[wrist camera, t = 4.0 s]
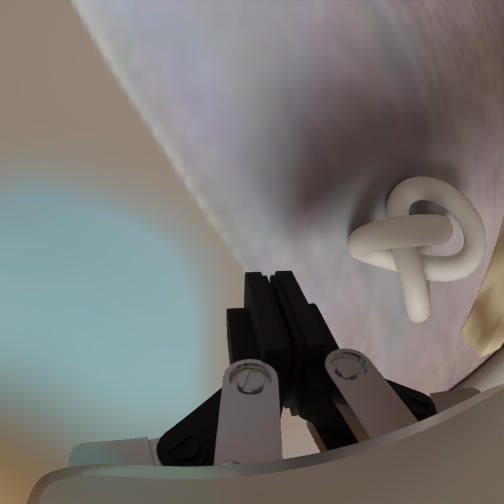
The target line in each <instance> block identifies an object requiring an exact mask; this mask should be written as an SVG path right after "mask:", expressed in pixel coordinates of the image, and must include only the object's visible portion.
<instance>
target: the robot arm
mask: <svg viewBox="0 0 504 504" xmlns="http://www.w3.org/2000/svg"><path fill="white" fill-rule="evenodd" d="M244 293H245V294H244V308H230V309H227V340H228V350H229V360H230V366H229V367H228V368H227V370H226V371H225V374H224V376H223V385H222V388H221V389H220V390H218V391H217V392H216V393H215V394H213V395H212V396H211V397H210V398H209V399H207V400H206V401H205V402H204V403H203V404H201V405H200V406H199V407H198V408H196V409H195V410H194V411H193V412H191V413H190V414H189V415H188V416H186V417H185V418H184V419H183V420H181V421H180V422H179V423H177V424H176V425H175V426H174V427H172V428H171V429H170V430H168V431H167V432H166V433H165V434H164V435H163V436H162V437H161V438H157V439H151V440H149V439H148V438H147V437H143V438H135V439H127V440H116V441H103V442H87V443H82V444H80V445H78V446H76V447H75V448H74V449H73V451H72V452H71V454H70V458H69V467H67V468H62V469H58V470H55V471H52V472H50V473H48V474H46V475H44V476H42V477H41V478H40V479H39V480H38V481H37V482H36V484H35V485H34V487H33V489H32V491H31V493H30V496H29V499H28V502H27V504H504V384H502V385H498V386H495V387H492V388H489V389H487V390H485V391H483V392H481V391H479V390H478V389H476V388H473V387H467V388H462V389H456V390H450V391H444V392H437V393H430V395H429V396H427V395H425V394H423V393H421V392H419V391H416V390H413V389H411V388H408V387H405V386H403V385H400V384H397V383H395V382H392V381H390V380H387V379H385V378H384V377H383V376H382V375H381V373H380V372H379V371H378V370H377V368H376V367H375V366H374V365H373V364H372V362H371V361H370V360H369V359H368V358H367V357H366V356H365V355H364V354H362V353H361V352H359V351H356V350H353V349H345V348H344V349H339V347H338V345H337V343H336V341H335V339H334V337H333V336H332V334H331V332H330V330H329V328H328V326H327V324H326V322H325V320H324V318H323V317H322V315H321V313H320V311H319V309H318V307H317V306H316V304H314V303H312V304H308V302H307V300H306V298H305V296H304V294H303V292H302V290H301V288H300V286H299V284H298V283H297V281H296V279H295V277H294V275H293V273H292V271H276V272H275V275H271V276H270V283H269V280H268V278H267V276H262V274H261V272H246V273H245V292H244ZM283 405H284V407H285V408H290V412H291V415H292V416H296V415H299V416H300V417H301V418H303V419H305V420H306V421H307V427H308V429H309V431H310V433H311V435H312V437H313V439H314V441H315V443H316V445H317V447H318V449H319V450H320V453H316V454H311V455H306V456H300V457H295V458H289V459H283V457H282V438H281V420H280V419H281V414H282V410H283Z"/></svg>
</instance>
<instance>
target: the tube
mask: <svg viewBox="0 0 504 504" xmlns="http://www.w3.org/2000/svg"><path fill="white" fill-rule="evenodd" d="M502 384H504V345H503V346H502V347H501V348H500V349H499V350H498V351H497V352H496V353H495V354H494V355H493V356H492V357H491V358H490V359H488V360H487V361H486V362H485V363H484V364H483V365H482V366H481V367H479V368H478V369H477V370H476V371H475V372H473V373H472V374H471V375H470V376H469V377H467V378H466V379H465V380H464V381H462V382H461V383H460V384H458V385H457V386H456V387H455V388H453V389H452V390H456V389H462V388H467V387H473V388H476V389H478V390H479V391H481V392H483V391H485V390H487V389H489V388H492V387H495V386H498V385H502Z"/></svg>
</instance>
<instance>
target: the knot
mask: <svg viewBox="0 0 504 504" xmlns="http://www.w3.org/2000/svg"><path fill="white" fill-rule="evenodd" d="M418 200H428V201H432V202H434V203H437V204H439V205H440V206H442V207H444V208H445V209H446V210H448V211H449V212H450V213H451V214H452V215H453V216H454V218H455V219H456V220H457V222H458V223H459V225H460V227H461V229H462V232H463V235H464V245H463V248H462V250H461V251H460V252H458V253H457V254H454V255H451V256H432V255H430V249H431V245H441V244H445V243H447V242H448V241H449V240H450V239H451V237H452V235H453V226H452V223H451V221H450V220H449V219H448V218H446V217H445V216H442V215H435V214H418V215H409V209H410V206H411V204H412V203H414V202H415V201H418ZM347 247H348V250H349V252H350V254H351V255H352V256H353V257H354V258H356V259H357V260H359V261H362V262H364V263H367V264H370V265H373V266H377V267H380V268H384V269H388V270H391V271H395V272H397V273H398V277H399V281H400V286H401V290H402V295H403V300H404V304H405V309H406V312H407V315H408V317H409V318H410V319H411V320H412V321H414V322H422V321H424V320H426V319H427V318H428V316H429V314H430V310H431V307H430V280H432V281H455V280H459V279H462V278H464V277H466V276H468V275H470V274H471V273H472V272H473V271H475V269H476V268H477V267H478V266H479V264H480V263H481V261H482V259H483V256H484V253H485V248H486V234H485V229H484V225H483V222H482V220H481V217H480V215H479V213H478V212H477V210H476V208H475V207H474V206H473V204H472V203H471V202H470V201H469V199H468V198H467V197H466V196H465V195H464V194H462V193H461V192H460V191H459V190H458V189H456V188H455V187H453V186H452V185H450V184H448V183H446V182H444V181H442V180H439V179H436V178H432V177H425V176H419V177H412V178H409V179H406V180H404V181H402V182H401V183H399V184H398V185H397V186H396V187H395V188H394V189H393V191H392V192H391V194H390V196H389V198H388V201H387V205H386V219H382V220H378V221H374V222H371V223H368V224H365V225H363V226H361V227H359V228H357V229H356V230H354V231H353V232H352V233H351V235H350V236H349V238H348V242H347Z"/></svg>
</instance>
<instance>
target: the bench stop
mask: <svg viewBox="0 0 504 504" xmlns="http://www.w3.org/2000/svg"><path fill="white" fill-rule="evenodd" d="M460 334H461V335H462V336H463V337H464V338H465V340H466V341H467V342H468V343H469V344H470V346H471V347H472V348H473V349H474V350H475V352H476V353H477V354H478V355H479V357H482V356H485V355H487V354H489V353H491V352H494V351H496V350H498V349H500V347H501V346H502V344H503V342H504V220H503V224H502V227H501V231H500V235H499V238H498V241H497V245H496V248H495V251H494V254H493V257H492V260H491V263H490V266H489V268H488V271H487V274H486V277H485V279H484V282H483V284H482V287H481V289H480V292H479V294H478V296H477V299H476V301H475V303H474V306H473V308H472V310H471V312H470V314H469V317H468V319H467V321H466V323H465V325H464V327H463V329H462V331H461V333H460Z"/></svg>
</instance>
